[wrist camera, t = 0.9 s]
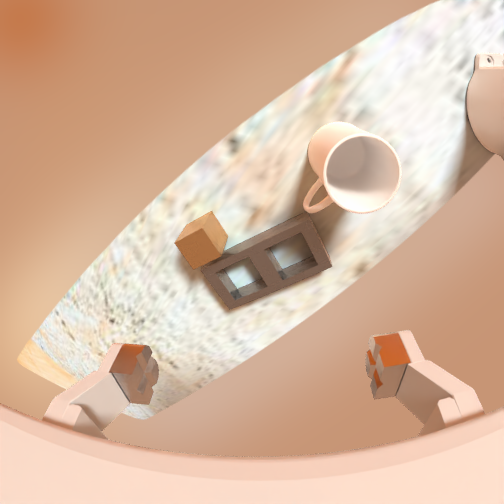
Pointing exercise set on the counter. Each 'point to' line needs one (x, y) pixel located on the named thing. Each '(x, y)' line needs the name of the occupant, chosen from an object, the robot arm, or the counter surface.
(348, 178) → the mug
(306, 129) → the counter surface
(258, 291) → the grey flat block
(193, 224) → the wooden toy block
